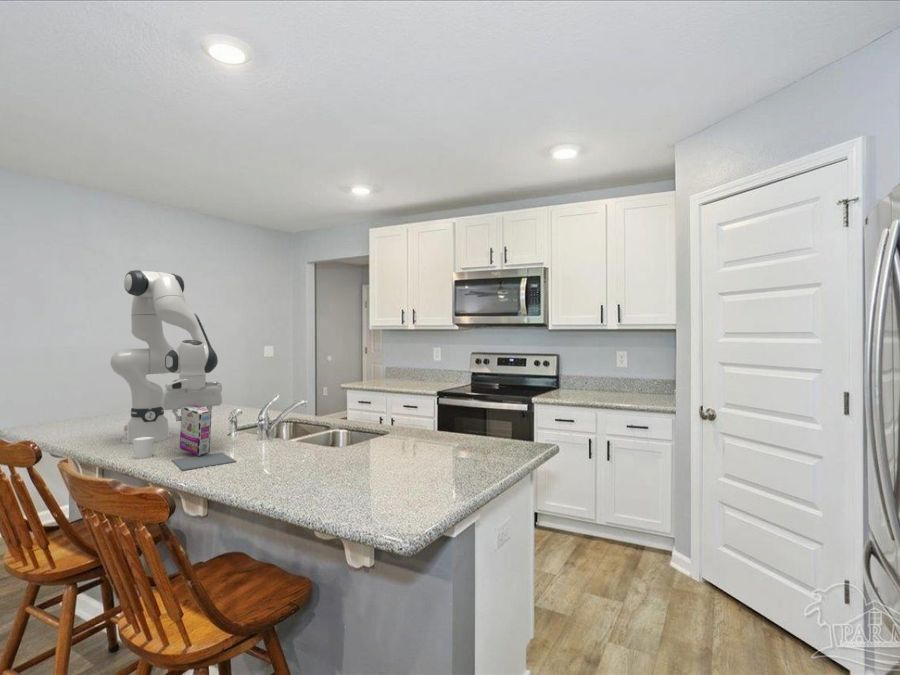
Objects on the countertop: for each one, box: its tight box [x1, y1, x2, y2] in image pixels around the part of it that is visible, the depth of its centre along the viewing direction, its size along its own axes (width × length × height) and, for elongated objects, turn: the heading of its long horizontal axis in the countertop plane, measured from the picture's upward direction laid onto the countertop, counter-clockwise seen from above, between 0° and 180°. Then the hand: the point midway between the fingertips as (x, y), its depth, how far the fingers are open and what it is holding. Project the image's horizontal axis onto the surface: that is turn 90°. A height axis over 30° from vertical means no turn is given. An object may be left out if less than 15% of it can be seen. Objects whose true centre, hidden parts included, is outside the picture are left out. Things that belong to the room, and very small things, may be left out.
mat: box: [171, 452, 237, 472], centre depth 173 cm, size 17×17×1 cm
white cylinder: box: [132, 437, 155, 459], centre depth 180 cm, size 7×7×7 cm
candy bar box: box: [179, 406, 213, 456], centre depth 181 cm, size 11×5×16 cm, turn 63°
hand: (192, 419), depth 185 cm, fingers open, 8 cm apart
